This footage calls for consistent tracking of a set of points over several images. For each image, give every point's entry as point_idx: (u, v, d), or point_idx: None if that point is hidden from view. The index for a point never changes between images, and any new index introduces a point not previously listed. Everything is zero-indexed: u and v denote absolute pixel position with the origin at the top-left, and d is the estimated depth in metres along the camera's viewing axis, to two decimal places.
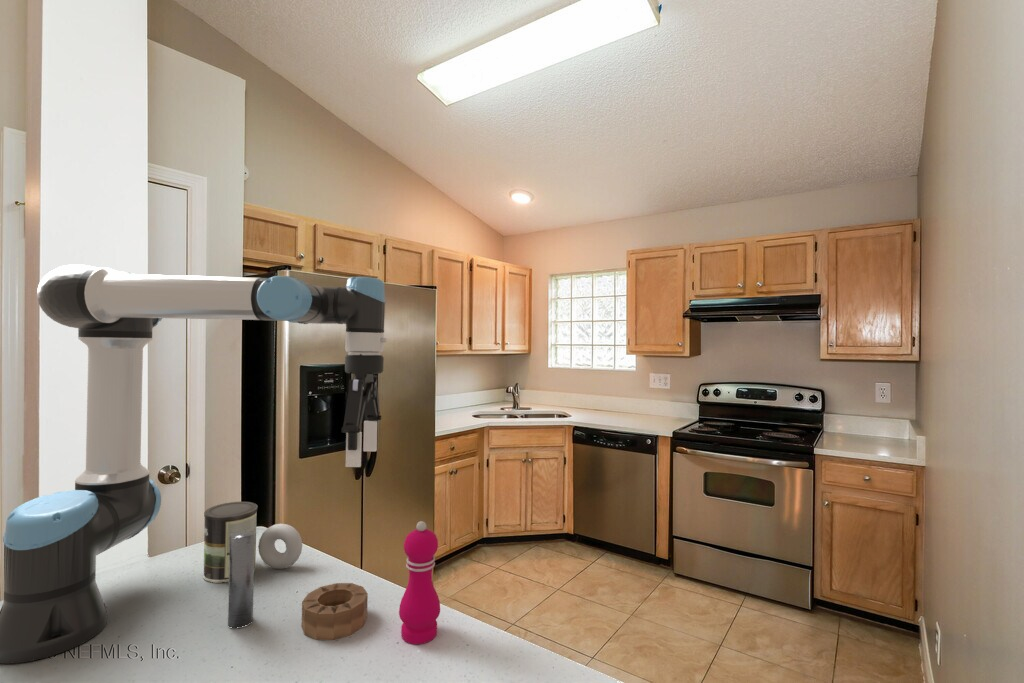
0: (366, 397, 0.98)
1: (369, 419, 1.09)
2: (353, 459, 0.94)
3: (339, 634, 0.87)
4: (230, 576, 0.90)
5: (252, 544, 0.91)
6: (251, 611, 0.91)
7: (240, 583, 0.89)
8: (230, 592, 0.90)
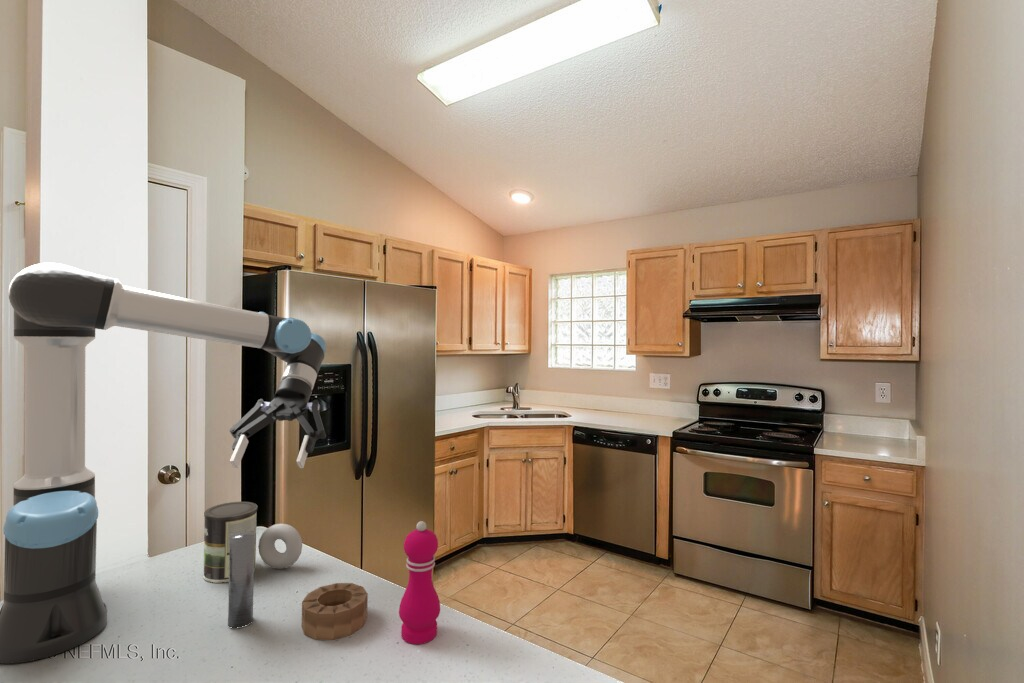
0: None
1: None
2: (303, 459, 1.06)
3: (339, 634, 0.87)
4: (230, 576, 0.90)
5: (252, 544, 0.91)
6: (251, 611, 0.91)
7: (240, 583, 0.89)
8: (230, 592, 0.90)
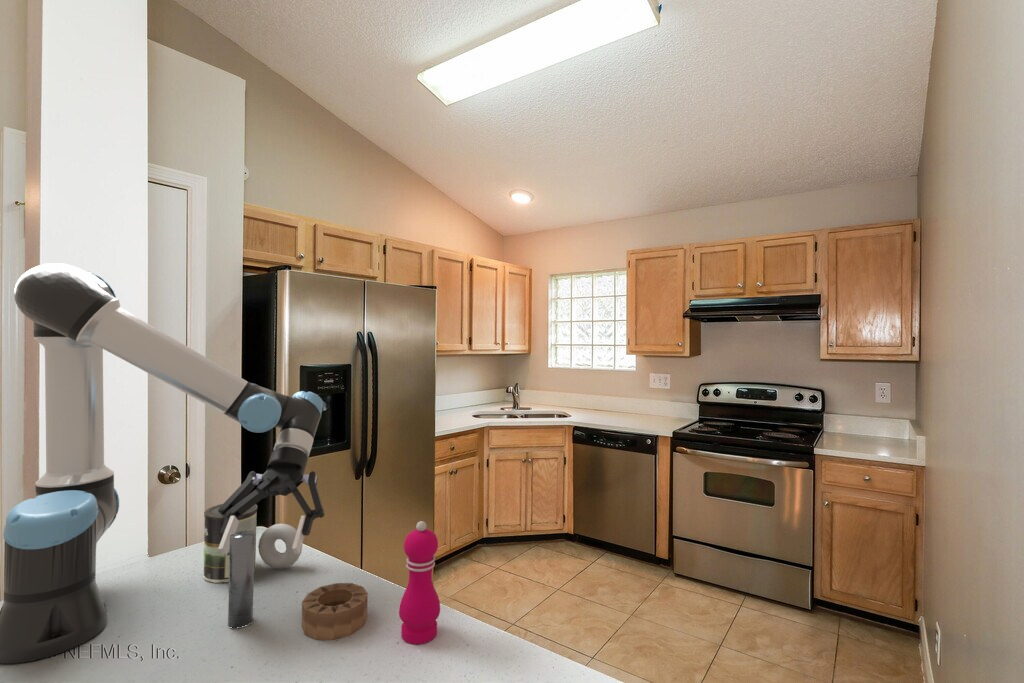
0: None
1: None
2: (299, 544, 0.97)
3: (339, 634, 0.87)
4: (230, 576, 0.90)
5: (252, 544, 0.91)
6: (251, 611, 0.91)
7: (240, 583, 0.89)
8: (230, 592, 0.90)
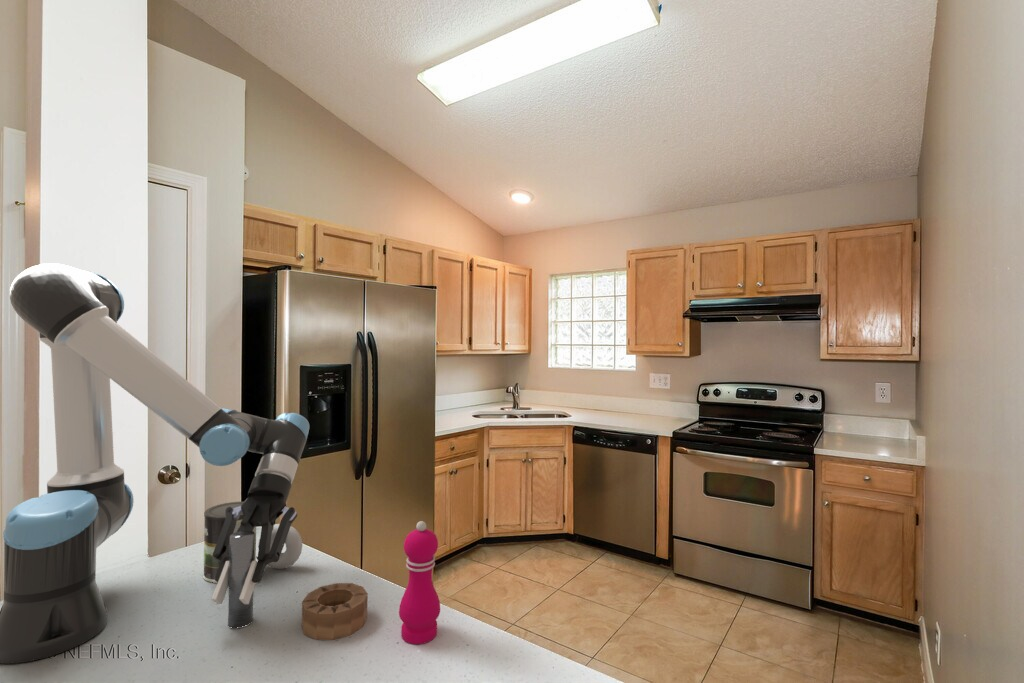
0: (272, 527, 0.98)
1: (228, 561, 0.92)
2: (249, 593, 0.89)
3: (339, 634, 0.87)
4: (230, 576, 0.90)
5: (252, 544, 0.91)
6: (251, 611, 0.91)
7: (240, 583, 0.89)
8: (230, 592, 0.90)
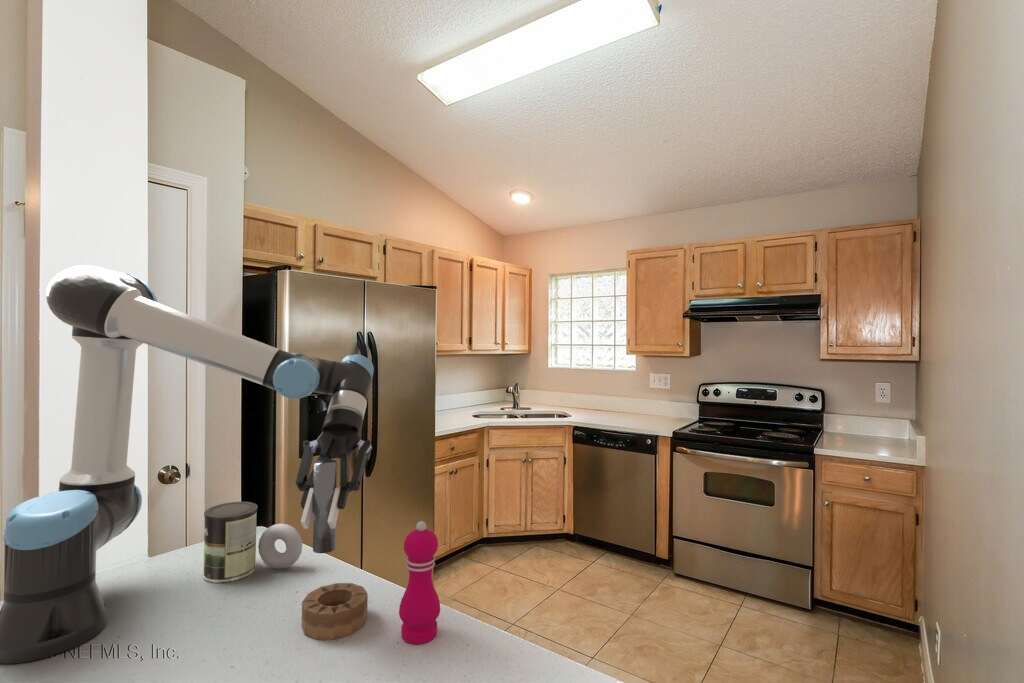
0: (349, 460, 0.99)
1: None
2: (335, 517, 0.90)
3: (339, 634, 0.87)
4: (315, 502, 0.91)
5: (335, 471, 0.92)
6: (335, 537, 0.92)
7: (325, 508, 0.91)
8: (315, 517, 0.91)
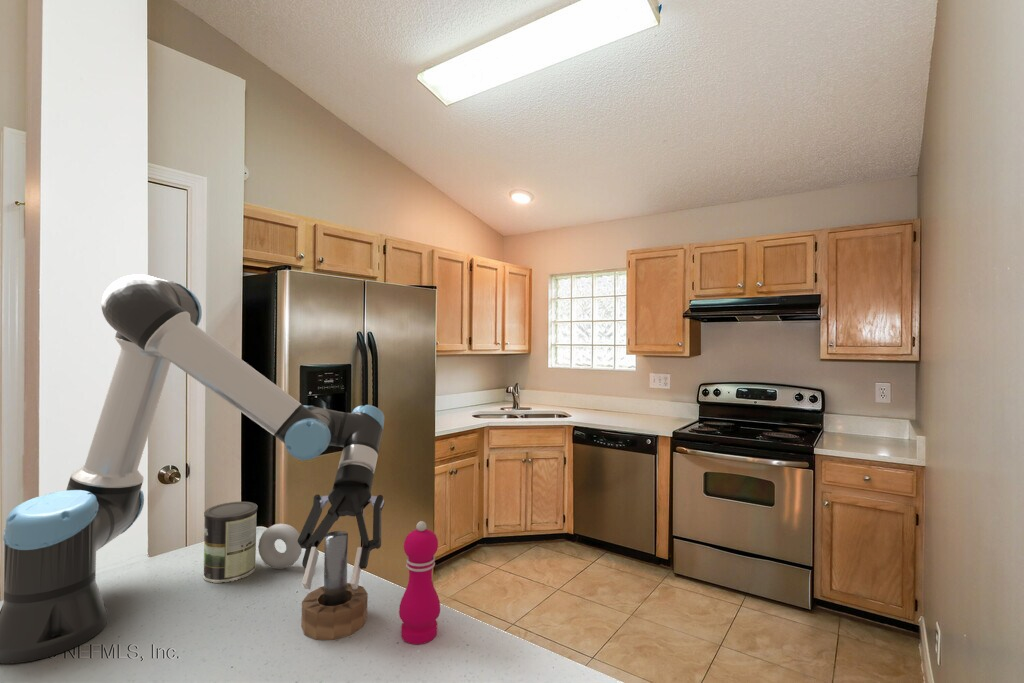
0: (363, 516, 0.99)
1: None
2: (357, 578, 0.90)
3: (339, 634, 0.87)
4: (326, 576, 0.90)
5: (346, 544, 0.92)
6: None
7: (336, 583, 0.90)
8: (326, 592, 0.90)
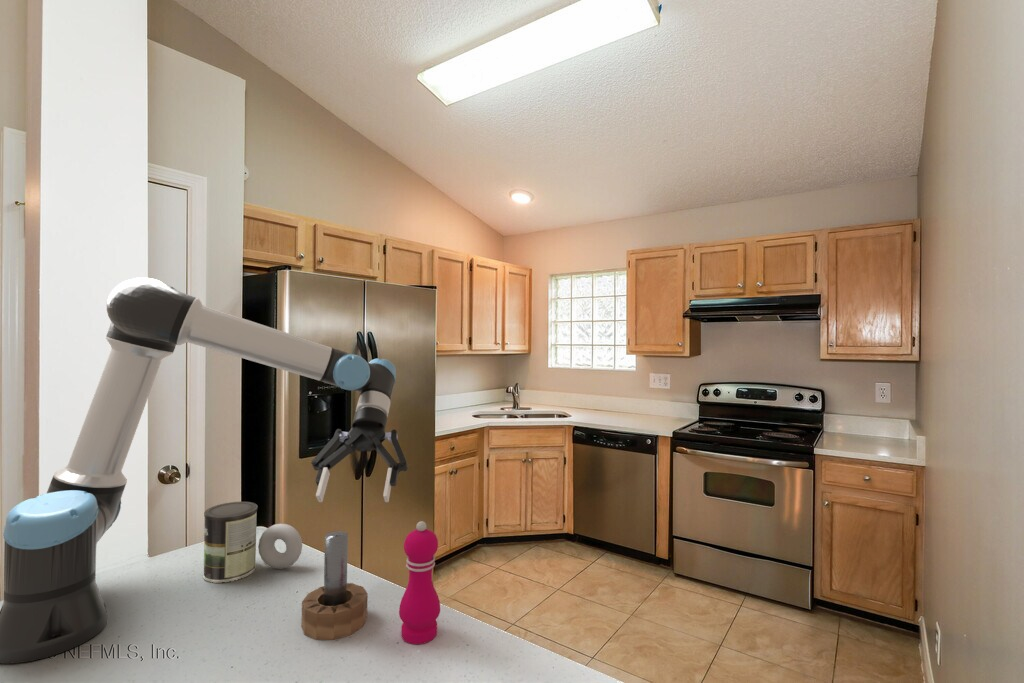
0: None
1: None
2: (388, 493, 1.04)
3: (339, 634, 0.87)
4: (326, 576, 0.90)
5: (346, 544, 0.92)
6: None
7: (336, 583, 0.90)
8: (326, 592, 0.90)
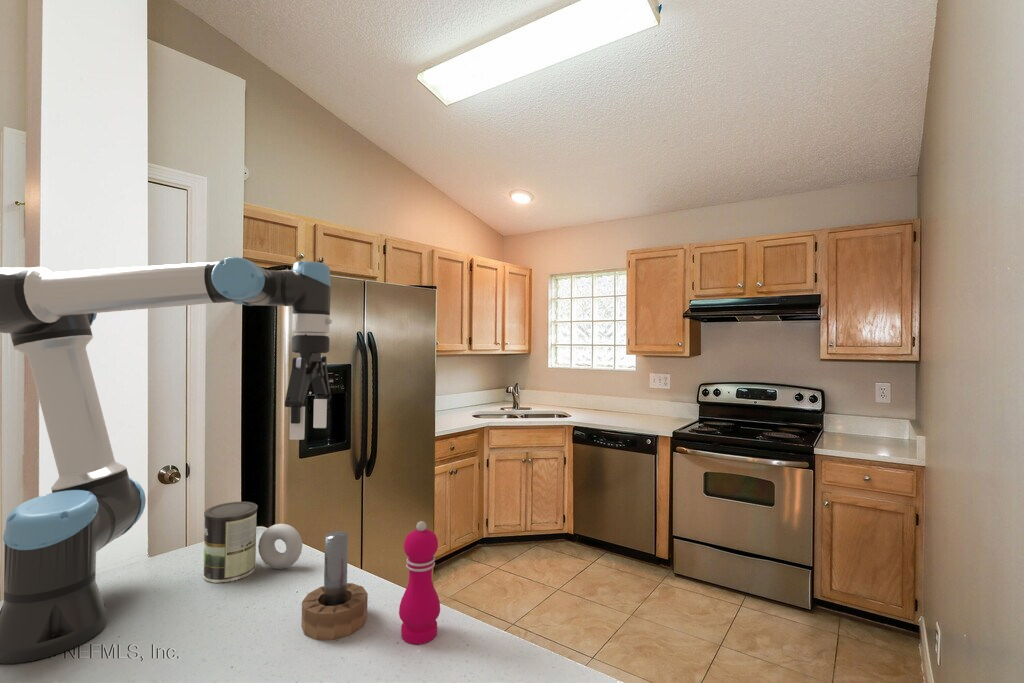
0: (310, 375, 1.04)
1: (319, 397, 1.15)
2: (296, 432, 1.00)
3: (339, 634, 0.87)
4: (326, 576, 0.90)
5: (346, 544, 0.92)
6: None
7: (337, 583, 0.90)
8: (326, 592, 0.90)
